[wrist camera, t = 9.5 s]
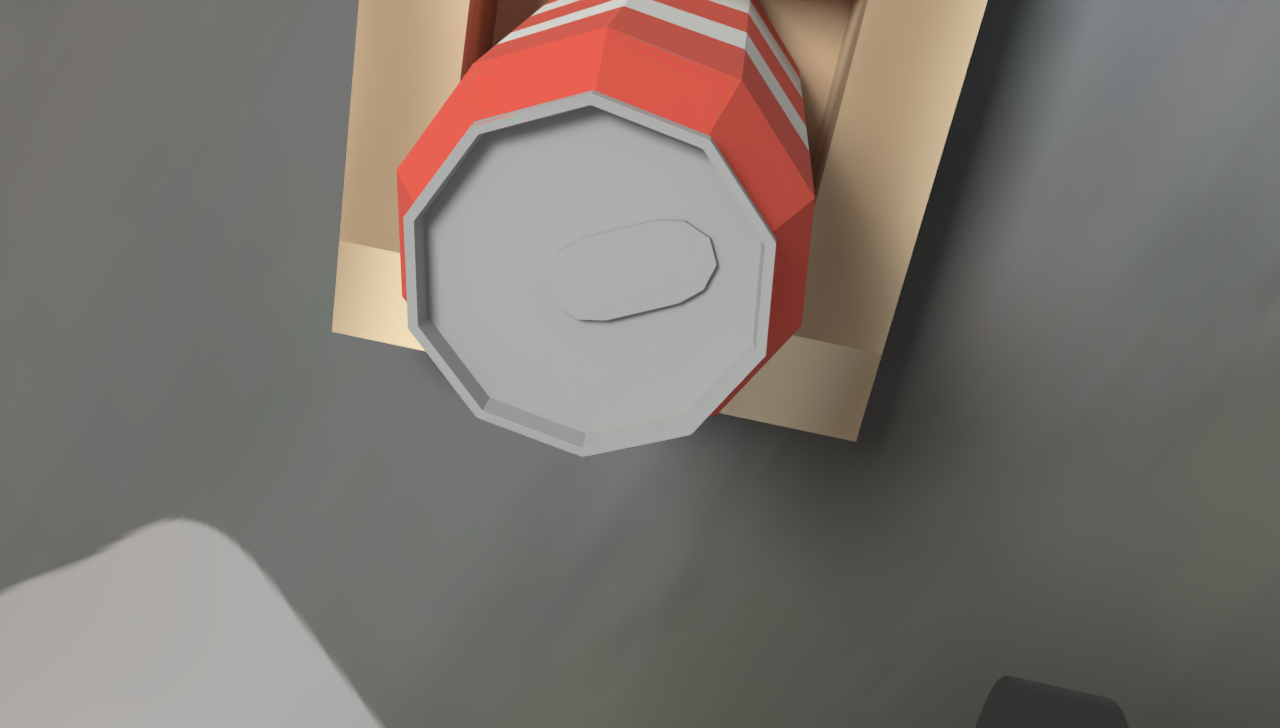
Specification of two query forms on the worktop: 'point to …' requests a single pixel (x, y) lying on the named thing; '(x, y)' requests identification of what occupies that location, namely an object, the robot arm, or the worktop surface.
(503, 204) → the beverage can
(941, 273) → the worktop surface
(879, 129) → the holder block
